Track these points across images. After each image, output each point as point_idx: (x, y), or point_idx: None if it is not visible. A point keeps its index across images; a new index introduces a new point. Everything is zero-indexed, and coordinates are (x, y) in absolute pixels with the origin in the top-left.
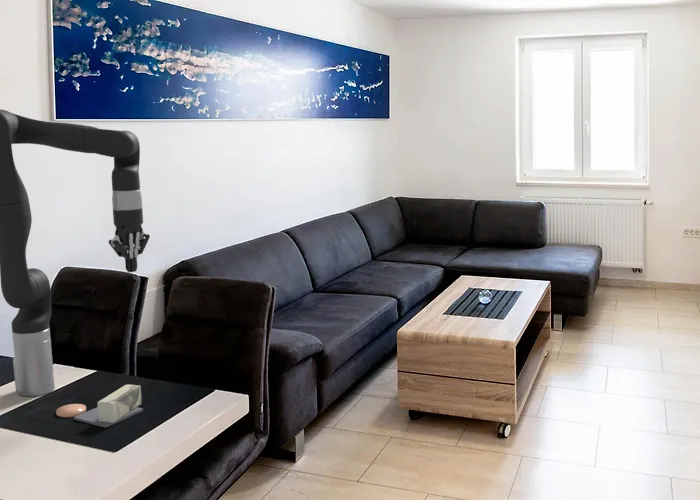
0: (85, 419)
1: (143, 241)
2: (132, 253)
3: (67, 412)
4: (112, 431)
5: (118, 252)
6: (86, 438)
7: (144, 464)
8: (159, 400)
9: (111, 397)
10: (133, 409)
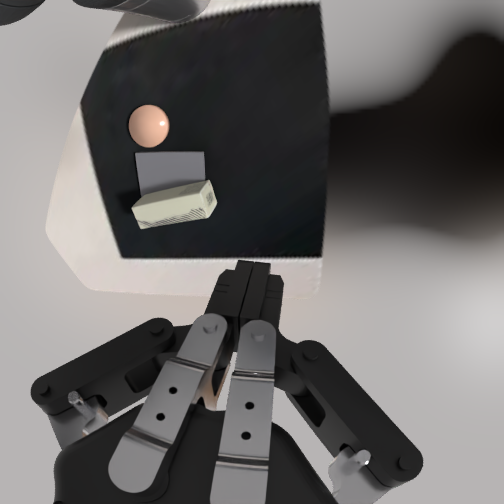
0: (139, 173)
1: (331, 452)
2: (220, 379)
3: (137, 133)
4: None
5: (132, 347)
6: (118, 211)
7: (127, 292)
8: (250, 209)
9: (151, 213)
10: None
